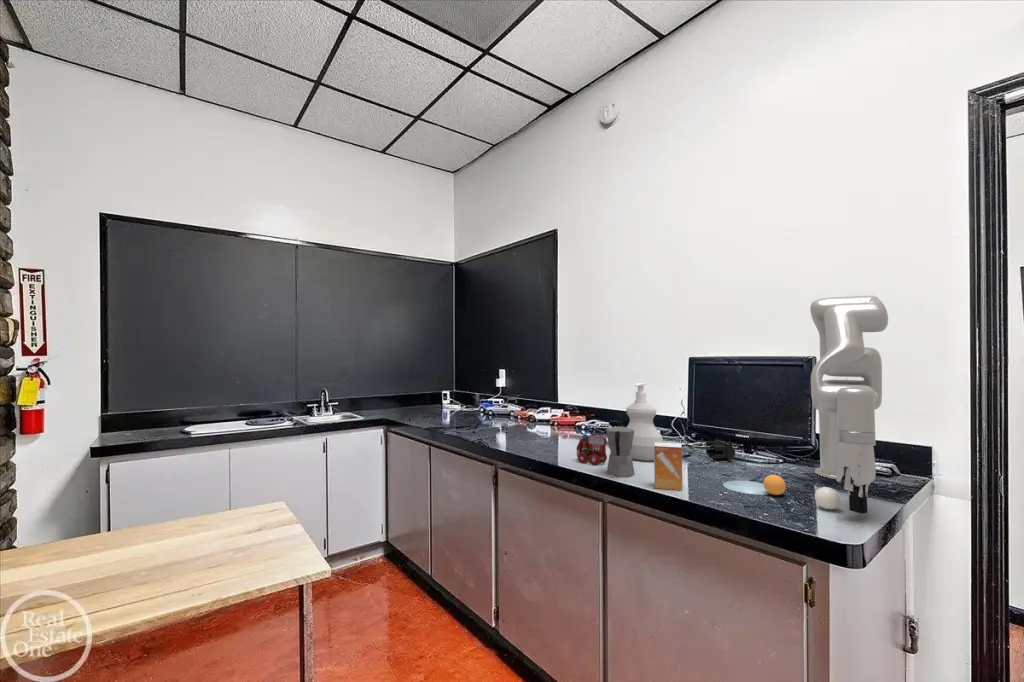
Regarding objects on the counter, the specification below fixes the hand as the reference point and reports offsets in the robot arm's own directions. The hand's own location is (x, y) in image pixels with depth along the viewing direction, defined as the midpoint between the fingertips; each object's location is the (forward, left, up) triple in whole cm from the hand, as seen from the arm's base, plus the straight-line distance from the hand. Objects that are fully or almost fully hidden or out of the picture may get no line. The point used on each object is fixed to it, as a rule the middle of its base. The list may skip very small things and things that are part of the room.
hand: (858, 511), depth 112 cm
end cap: (-25, -57, -2) cm, 62 cm away
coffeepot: (+23, -60, -2) cm, 64 cm away
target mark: (0, -29, -1) cm, 29 cm away
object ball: (0, -21, +1) cm, 21 cm away
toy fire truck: (+20, -79, -2) cm, 81 cm away
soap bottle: (0, -73, -2) cm, 73 cm away
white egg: (0, -7, +1) cm, 7 cm away
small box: (+20, -42, -2) cm, 46 cm away
